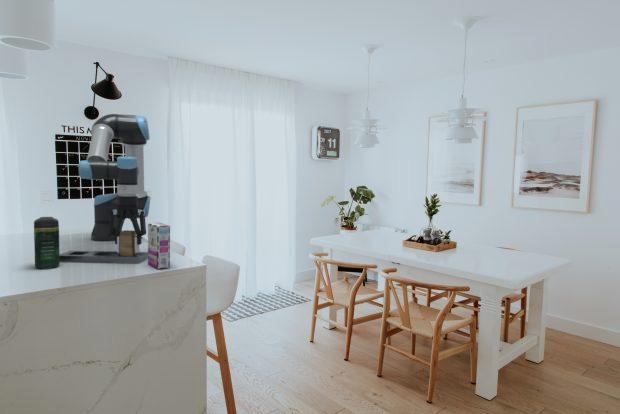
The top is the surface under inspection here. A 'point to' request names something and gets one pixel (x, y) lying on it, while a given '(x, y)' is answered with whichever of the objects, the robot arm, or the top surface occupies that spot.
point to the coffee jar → (46, 242)
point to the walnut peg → (127, 243)
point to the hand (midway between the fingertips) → (128, 252)
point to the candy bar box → (159, 245)
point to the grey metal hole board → (102, 257)
